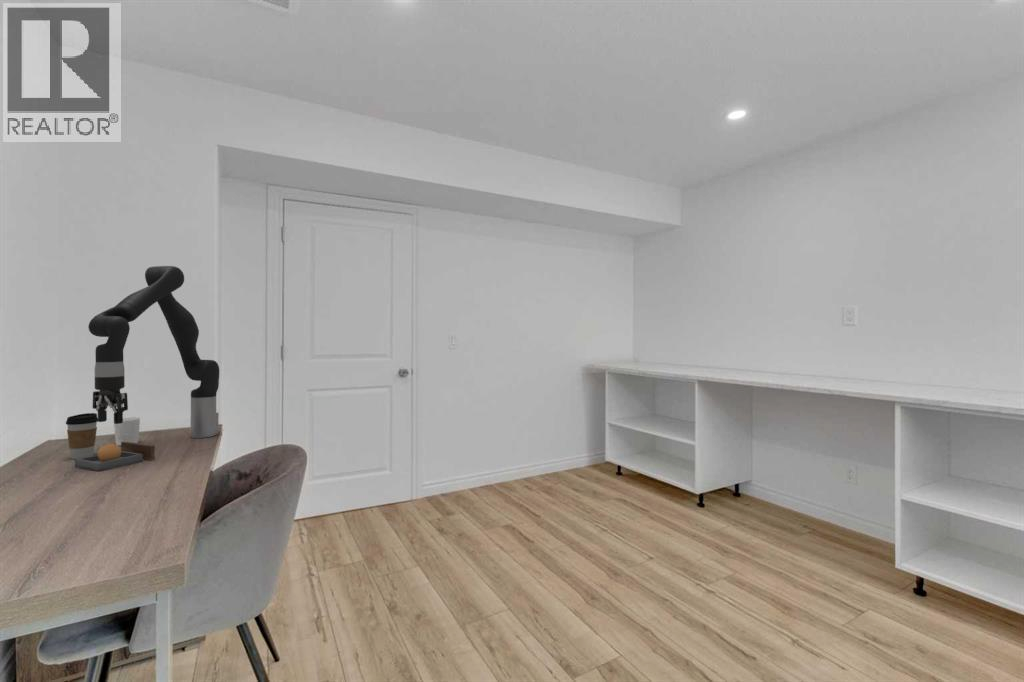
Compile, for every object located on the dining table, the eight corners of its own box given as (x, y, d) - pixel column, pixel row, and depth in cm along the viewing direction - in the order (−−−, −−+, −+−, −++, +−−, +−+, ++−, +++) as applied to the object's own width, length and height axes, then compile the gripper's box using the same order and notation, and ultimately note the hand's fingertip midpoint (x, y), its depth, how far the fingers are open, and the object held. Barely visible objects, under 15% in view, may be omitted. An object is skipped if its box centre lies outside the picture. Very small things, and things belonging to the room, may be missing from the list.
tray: (119, 457, 159) (119, 450, 159) (142, 461, 155) (142, 454, 155) (74, 467, 147) (74, 459, 147) (98, 471, 143) (98, 463, 143)
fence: (125, 454, 162) (125, 441, 162) (154, 459, 157) (154, 445, 157) (121, 455, 161) (121, 442, 161) (150, 460, 156) (150, 446, 156)
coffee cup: (104, 454, 163) (104, 413, 163) (80, 460, 154) (80, 417, 154) (84, 453, 164) (84, 412, 164) (58, 459, 155) (58, 416, 155)
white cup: (118, 442, 180) (118, 417, 180) (142, 440, 184) (142, 416, 184) (110, 446, 173) (110, 421, 173) (136, 445, 177) (136, 420, 176)
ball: (114, 458, 155) (114, 441, 155) (125, 460, 153) (125, 442, 153) (93, 463, 149) (93, 445, 149) (104, 465, 147) (104, 447, 147)
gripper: (136, 375, 152) (136, 422, 152) (109, 373, 156) (109, 418, 157) (110, 377, 145) (110, 426, 145) (82, 375, 149) (83, 423, 150)
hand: (110, 422), depth 151 cm, fingers open, 8 cm apart
